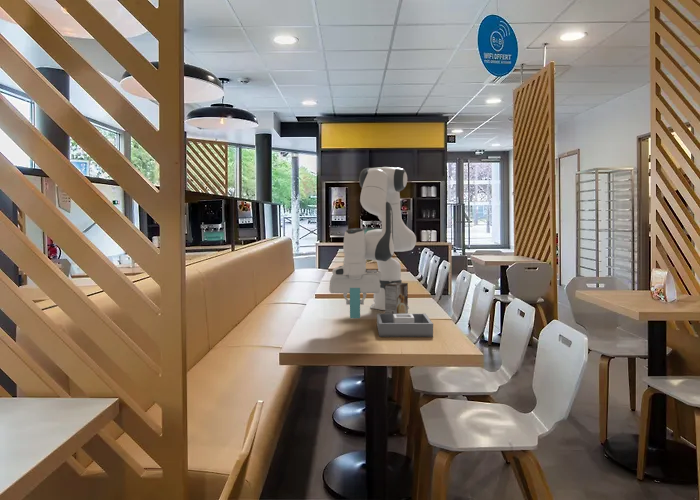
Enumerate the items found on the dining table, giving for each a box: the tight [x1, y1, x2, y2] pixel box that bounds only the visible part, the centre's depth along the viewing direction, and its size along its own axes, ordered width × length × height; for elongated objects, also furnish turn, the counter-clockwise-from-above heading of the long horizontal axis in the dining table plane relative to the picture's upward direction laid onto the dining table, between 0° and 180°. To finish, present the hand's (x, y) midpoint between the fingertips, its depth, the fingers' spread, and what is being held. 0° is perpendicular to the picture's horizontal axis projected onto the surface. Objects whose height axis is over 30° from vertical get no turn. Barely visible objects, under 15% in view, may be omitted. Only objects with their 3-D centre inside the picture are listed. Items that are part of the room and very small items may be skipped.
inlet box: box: [376, 313, 434, 338], centre depth 192 cm, size 20×20×6 cm
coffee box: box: [384, 282, 409, 314], centre depth 213 cm, size 9×6×16 cm
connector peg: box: [349, 288, 361, 319], centre depth 195 cm, size 4×4×12 cm
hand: (354, 304), depth 195 cm, fingers closed on connector peg, 4 cm apart
